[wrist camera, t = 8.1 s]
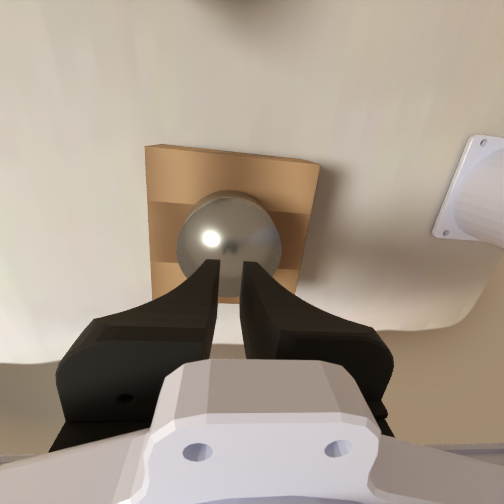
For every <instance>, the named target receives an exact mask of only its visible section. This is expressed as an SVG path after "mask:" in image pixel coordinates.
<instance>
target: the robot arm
mask: <svg viewBox="0 0 504 504" xmlns="http://www.w3.org/2000/svg"><path fill="white" fill-rule="evenodd" d="M481 141H483V142H482V144H481V145H480V142H481ZM444 231H445V233H444V234H443V232H444ZM432 235H433V236H434V237H436V238H442V239H455V240H468V241H481V242H487V243H490V244H492V245H495V246H497V247H500V248H502V249H504V138H502V137H495V136H487V135H473V136H471V137H470V138H469V140H468V141H467V144H466V146H465V149H464V151H463V154H462V156H461V159H460V162H459V164H458V167H457V169H456V172H455V174H454V177H453V179H452V182H451V184H450V187H449V189H448V192H447V195H446V197H445V200H444V202H443V205H442V207H441V210H440V212H439V215H438V217H437V220H436V222H435V225H434V227H433V230H432ZM219 276H220V260H218V259H206V260H205V261H204V262H203V263H202V264H201V265H200V267H199V268H198V269H197V270H196V271H195V272H194V273H193V274H192V275H191V276H190V277H189V278H187V279H186V280H185V281H184V282H183V283H181V284H180V285H179V286H177V287H176V288H175V289H173V290H171V291H170V292H168V293H166V294H165V295H163V296H161V297H159V298H157V299H154V300H152V301H150V302H148V303H146V304H143V305H141V306H138V307H135V308H133V309H130V310H127V311H123V312H120V313H116V314H112V315H108V316H105V317H101V318H96V319H93V320H92V322H91V323H90V324H89V325H88V326H87V327H86V328H85V329H84V331H83V332H82V333H81V334H80V336H79V337H78V338H77V340H76V341H75V342H74V344H73V345H72V346H71V348H70V349H69V350H68V352H67V353H66V354H65V356H64V357H63V359H62V360H61V361H60V363H59V365H58V368H57V371H56V386H57V390H58V394H59V398H60V401H61V405H62V409H63V413H64V417H65V421H66V422H65V424H64V426H63V427H62V429H61V431H60V433H59V434H58V436H57V438H56V440H55V441H54V443H53V445H52V447H51V448H50V450H49V452H48V453H47V454H33V455H0V504H504V443H476V444H438V445H420V444H416V443H412V442H409V441H405V440H401V439H397V438H395V437H394V435H393V433H392V431H391V429H390V427H389V426H388V424H387V422H386V420H385V418H387V416H388V413H387V410H386V408H385V406H384V405H383V403H382V401H381V399H382V397H383V394H384V392H385V390H386V387H387V385H388V383H389V380H390V378H391V376H392V372H393V368H394V361H393V356H392V354H391V352H390V350H389V349H388V347H387V346H386V345H385V343H384V342H383V341H382V339H381V338H380V337H379V335H378V334H377V333H376V331H375V330H374V329H373V328H372V327H368V326H365V325H362V324H358V323H355V322H352V321H348V320H345V319H343V318H340V317H337V316H335V315H332V314H330V313H327V312H325V311H323V310H321V309H319V308H317V307H315V306H313V305H311V304H309V303H307V302H305V301H303V300H302V299H300V298H299V297H297V296H296V295H294V294H293V293H291V292H290V291H288V290H287V289H286V288H284V287H283V286H282V285H281V284H280V283H278V282H277V281H276V280H275V279H274V278H273V277H272V276H271V275H270V274H269V273H268V272H267V271H266V270H265V269H264V268H263V267H262V266H261V265H260V264H259V263H257V262H251V261H243V270H242V280H241V289H240V299H239V300H240V322H241V328H242V335H243V341H244V348H245V354H246V359H209V357H210V351H211V346H212V340H213V335H214V329H215V324H216V318H217V306H218V291H219Z"/></svg>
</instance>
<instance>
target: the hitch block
mask: <svg viewBox="0 0 504 504" xmlns="http://www.w3.org/2000/svg"><path fill="white" fill-rule="evenodd" d="M145 164H146V183H147V203H148V223H149V242H150V262H151V282H152V300H154V299H157V298H159V297H161V296H163V295H165V294H166V293H168V292H170V291H171V290H173V289H175V288H176V287H177V286H179V285H180V284H181V283H183V282H184V281H185V280H186V279H187V278H186V277H185V275H184V274H183V272H182V270H181V268H180V266H179V263H178V260H177V254H176V245H177V239H178V236H179V233H180V231H181V229H182V227H183V225H184V223H185V221H186V219H187V217H188V215H189V213H190V211H191V209H192V208H193V207H194V205H195V204H196V203H197V202H198V201H199V200H201V199H202V198H204V197H205V196H207V195H209V194H211V193H214V192H217V191H222V190H236V191H240V192H244V193H246V194H249V195H251V196H252V197H254V198H255V199H257V200H258V201H259V202H260V203H261V204H262V205H263V206H264V207H265V209H266V210H267V212H268V213H269V215H270V217H271V219H272V221H273V223H274V225H275V227H276V229H277V231H278V233H279V236H280V240H281V247H282V251H281V259H280V263H279V266H278V268H277V270H276V272H275V273H274V275H273V276H272V277H273V278H274V279H275V280H276V281H277V282H278V283H280V284H281V285H282V286H283V287H284V288H286V289H287V290H288V291H290V292H291V293H293V294H294V295H295V291H296V286H297V281H298V276H299V271H300V266H301V261H302V255H303V250H304V245H305V240H306V235H307V230H308V225H309V220H310V215H311V210H312V205H313V200H314V195H315V190H316V185H317V180H318V175H319V170H320V165H319V164H316V163H313V162H309V161H306V160H303V159H294V158H284V157H275V156H266V155H257V154H247V153H238V152H229V151H220V150H211V149H201V148H192V147H183V146H174V145H164V144H159V145H151V146H145ZM239 299H240V297H231V298H228V297H218V303H229V304H240V300H239Z"/></svg>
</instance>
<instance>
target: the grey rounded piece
mask: <svg viewBox="0 0 504 504" xmlns="http://www.w3.org/2000/svg"><path fill="white" fill-rule="evenodd" d="M281 251H282V247H281V240H280V236H279V233H278V231H277V229H276V227H275V225H274V223H273V221H272V219H271V217H270V215H269V213H268V212H267V210H266V209H265V207H264V206H263V205H262V204H261V203H260V202H259V201H258V200H257V199H255V198H254V197H252V196H251V195H249V194H246V193H244V192H240V191H236V190H222V191H217V192H214V193H211V194H209V195H207V196H205V197H204V198H202V199H201V200H199V201H198V202H197V203H196V204H195V205H194V207H193V208H192V209H191V211H190V213H189V215H188V217H187V219H186V221H185V223H184V225H183V227H182V229H181V231H180V233H179V236H178V239H177V245H176V254H177V260H178V263H179V266H180V268H181V270H182V272H183V274H184V275H185V277H186V278H189V277H190V276H191V275H192V274H193V273H194V272H195V271H196V270H197V269H198V268H199V267H200V265H201V264H202V263H203V262H204V261H205V260H206V259H218V260H220V276H219V291H218V297H228V298H231V297H240V289H241V280H242V270H243V261H251V262H257V263H259V264H260V265H261V266H262V267H263V268H264V269H265V270H266V271H267V272H268V273H269V274H270V275H271V276H273V275H274V273H275V272H276V270H277V268H278V266H279V263H280V259H281Z"/></svg>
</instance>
